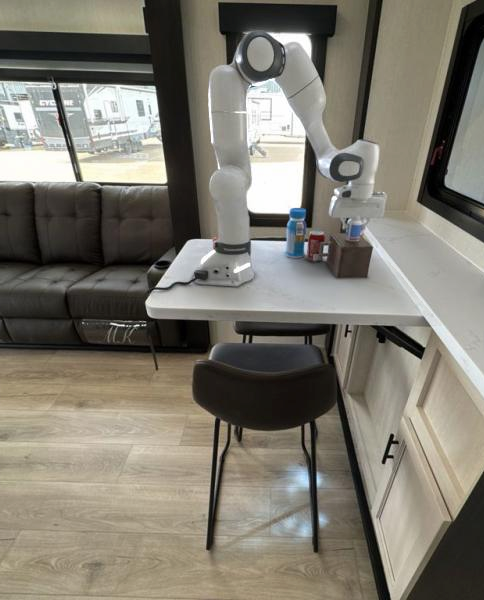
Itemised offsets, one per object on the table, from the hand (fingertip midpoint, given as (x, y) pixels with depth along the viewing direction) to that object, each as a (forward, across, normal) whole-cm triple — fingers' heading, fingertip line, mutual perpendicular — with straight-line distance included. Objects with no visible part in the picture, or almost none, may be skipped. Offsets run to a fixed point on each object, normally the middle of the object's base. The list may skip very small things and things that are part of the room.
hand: (353, 229), depth 115 cm
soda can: (+17, +11, -11) cm, 23 cm away
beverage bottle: (+17, +19, -16) cm, 30 cm away
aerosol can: (+17, -8, -18) cm, 26 cm away
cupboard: (+17, 0, 0) cm, 17 cm away
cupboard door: (+17, +8, 0) cm, 18 cm away
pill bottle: (+4, 0, 0) cm, 4 cm away
